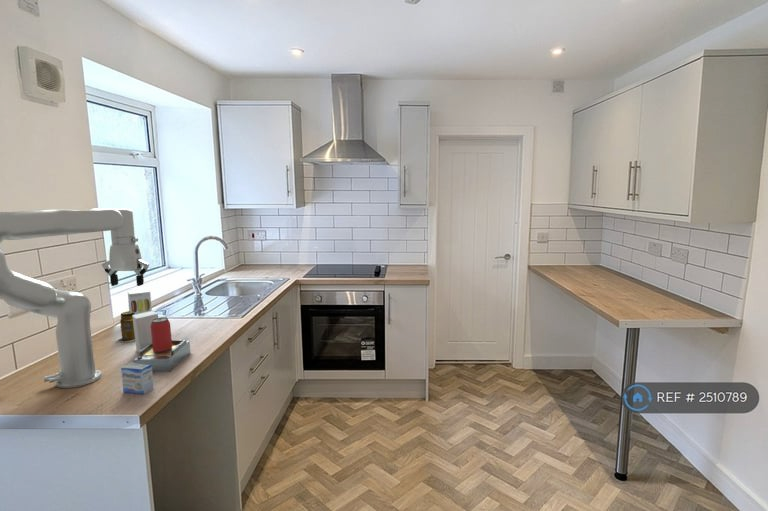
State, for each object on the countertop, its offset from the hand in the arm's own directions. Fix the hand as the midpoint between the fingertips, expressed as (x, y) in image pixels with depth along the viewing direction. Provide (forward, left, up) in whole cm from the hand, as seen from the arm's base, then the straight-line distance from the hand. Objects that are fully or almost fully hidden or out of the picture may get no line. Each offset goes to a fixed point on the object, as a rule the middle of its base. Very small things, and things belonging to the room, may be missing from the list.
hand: (127, 285), depth 155 cm
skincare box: (+6, +6, -30) cm, 31 cm away
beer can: (+7, -12, -25) cm, 28 cm away
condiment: (+3, +27, -30) cm, 40 cm away
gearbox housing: (+7, -12, -30) cm, 33 cm away
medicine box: (-6, -31, -30) cm, 44 cm away
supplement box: (+13, +48, -30) cm, 58 cm away
